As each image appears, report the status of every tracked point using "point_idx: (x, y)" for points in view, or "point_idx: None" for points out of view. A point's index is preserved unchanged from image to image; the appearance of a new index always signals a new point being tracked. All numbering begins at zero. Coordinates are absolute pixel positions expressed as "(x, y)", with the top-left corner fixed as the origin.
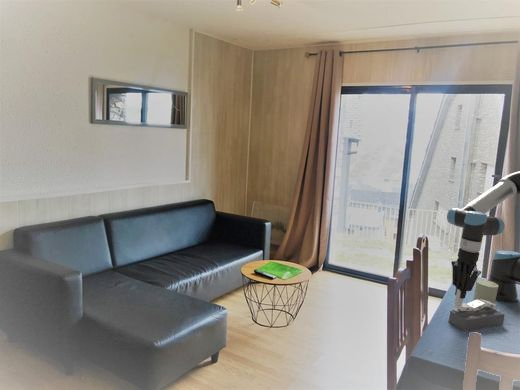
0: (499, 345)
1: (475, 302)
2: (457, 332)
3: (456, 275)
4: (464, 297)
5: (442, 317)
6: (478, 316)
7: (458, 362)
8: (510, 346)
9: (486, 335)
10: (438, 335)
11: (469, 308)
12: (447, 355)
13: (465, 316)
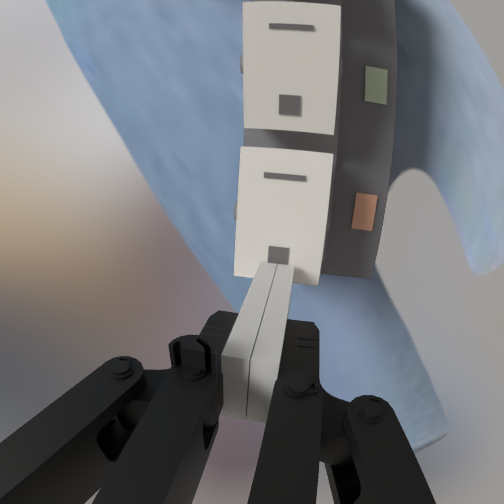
0: (499, 209)
1: (274, 50)
2: (353, 291)
3: (69, 492)
4: (317, 339)
5: (206, 225)
6: (375, 140)
7: (441, 420)
8: None
9: (434, 170)
10: (330, 378)
11: (328, 196)
12: (410, 424)
13: (341, 241)
